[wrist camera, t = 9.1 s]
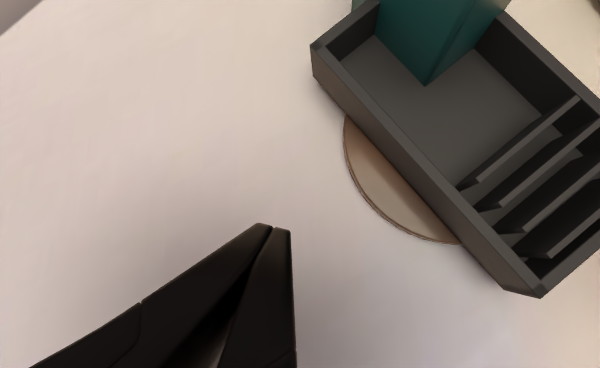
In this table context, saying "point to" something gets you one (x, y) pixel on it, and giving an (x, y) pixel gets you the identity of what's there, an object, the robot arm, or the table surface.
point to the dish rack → (475, 128)
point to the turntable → (390, 189)
